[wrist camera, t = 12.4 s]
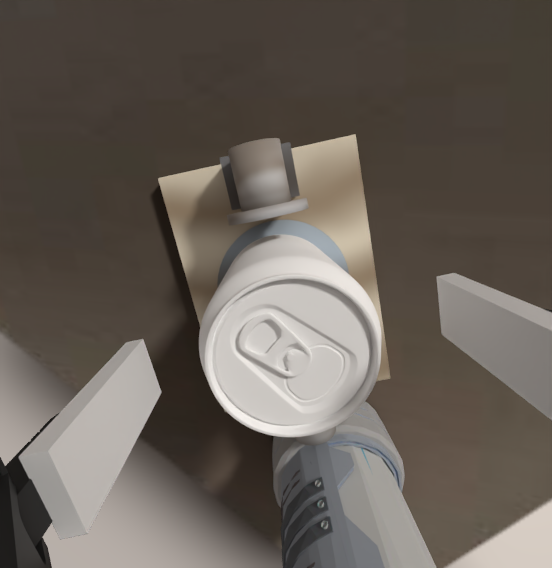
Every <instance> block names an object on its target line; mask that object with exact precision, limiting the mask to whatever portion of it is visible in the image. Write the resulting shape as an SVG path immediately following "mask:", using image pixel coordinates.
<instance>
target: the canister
mask: <svg viewBox="0 0 552 568" xmlns="http://www.w3.org/2000/svg"><path fill="white" fill-rule="evenodd" d="M272 460H273V473H274V474H273V489H274V492H275V496H276V500H277V504H278V505H279V506H280V507H281V515H282V519H281V520H282V526H281V539H282V561H283V568H436V566H435V564H434V561H433V559H432V557H431V555H430V553H429V551H428V549H427V547H426V544H425V542H424V540H423V538H422V536H421V534H420V532H419V529H418V527H417V525H416V523H415V521H414V519H413V517H412V515H411V512H410V510H409V508H408V506H407V504H406V502H405V500H404V497H403V495H402V489H403V483H404V477H405V475H404V468H403V461H402V459H401V457H400V455H399V453H398V451H397V449H396V447H395V445H394V444H393V442H392V440H391V438H390V436H389V434H388V432H387V430H386V428H385V426H384V425H383V423H382V421H381V419H380V418H379V416H378V414H377V413H376V411H375V410H374V409H373V408H372V407H371V406H370V405H369V404H368V403H367V402H364V403H363V404H362V405H361V406H360V408H359V409H358V410H357V411H356V412H355V413H353V414H352V415H351V416H350V417H349V418H347V419H346V420H345V421H343V422H342V423H340V424H338V425H337V426H336V432H335V434H334V436H333V437H332V438H331V439H330V440H329V441H327V442H325V443H323V444H320V445H315V446H308V445H304V444H301V443H299V442H298V441H297V440H296V439H295V437H277V436H274V438H273V451H272Z"/></svg>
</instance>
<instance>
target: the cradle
mask: <svg viewBox="0 0 552 568" xmlns="http://www.w3.org/2000/svg"><path fill="white" fill-rule="evenodd" d="M228 155H229V156H226V157H222V158H220V162H221V164H220V165H216V166H211V167H207V168H202V169H198V170H193V171H189V172H184V173H180V174H175V175H171V176H166V177H162V178H158V181H159V184H160V188H161V191H162V195H163V198H164V202H165V205H166V209H167V212H168V216H169V219H170V223H171V226H172V230H173V233H174V237H175V240H176V244H177V247H178V251H179V254H180V258H181V261H182V265H183V268H184V272H185V275H186V279H187V282H188V286H189V289H190V293H191V296H192V300H193V303H194V307H195V310H196V314H197V317H198V321H199V324H200V327H201V322H202V319H203V316H204V313H205V311H206V308H207V306H208V304H209V303H210V301H211V299H212V297H213V295H214V294H215V292H216V290H217V288H218V287H219V285H220V283H221V281H222V280H223V278H224V276H225V274H226V273H227V271H228V269H229V267H230V266H231V264H232V262H233V261H234V259H235V258H236V256H237V255H238V254H239V253H240V252H241V251H242V250H243V249H244V248H245V247H246V246H248V245H249V244H250V243H252V242H254V241H256V240H258V239H260V238H263V237H266V236H270V235H278V234H284V235H292V236H297V237H300V238H302V239H305V240H307V241H309V242H310V243H312V244H313V245H315V246H316V247H317V248H319V249H320V250H321V251H322V252H323V253H324V254H326V255H327V256H328V257H329V258H330V259H331V260H333V261H334V262H335V263H336V264H337V265H338V266H340V267H341V268H342V269H343V270H344V271H345V272H347V273H348V274H349V275H350V276H351V277H352V278H354V279H355V280H356V281H357V282H358V283H359V284H360V285H361V287H362V288H363V289H364V290H365V292H366V293H367V294H368V296H369V298H370V299H371V301H372V303H373V305H374V307H375V310H376V312H377V315H378V318H379V322H380V327H381V337H382V345H381V362H380V368H379V373H378V376H377V379H376V381H379V380H384V379H389V378H390V372H389V365H388V358H387V351H386V344H385V337H384V330H383V323H382V316H381V309H380V302H379V295H378V288H377V281H376V274H375V267H374V260H373V253H372V246H371V239H370V232H369V225H368V218H367V211H366V204H365V197H364V190H363V183H362V176H361V169H360V162H359V155H358V148H357V141H356V134H355V135H350V136H346V137H341V138H337V139H332V140H328V141H323V142H319V143H314V144H310V145H305V146H301V147H296V148H292V149H291V145H290V142H289V143H284V144H280V139H277V138H268V139H261V140H255V141H251V142H247V143H243V144H240V145H237V146H235V147H232V148H230V149H229V150H228ZM224 412H226V411H225V409H224ZM335 432H336V426H335V427H333V428H331V429H328V430H326V431H323V432H321V433H317V434H314V435H309V436H303V437H295V439H296V440H297V441H298V442H299V443H301V444H304V445H308V446H315V445H320V444H323V443H325V442H327V441H329V440H330V439H331V438H332V437H333V436H334V434H335Z"/></svg>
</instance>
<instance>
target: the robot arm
mask: <svg viewBox="0 0 552 568" xmlns="http://www.w3.org/2000/svg"><path fill="white" fill-rule="evenodd" d="M437 286H438V298H439V310H440V321H441V333H442V335H443V336H445V337H446V338H447V339H448V340H450V341H451V342H452V343H454V344H455V345H456V346H457V347H459V348H460V349H461V350H462V351H464V352H465V353H466V354H468V355H469V356H470V357H471V358H473V359H474V360H475V361H477V362H478V363H479V364H480V365H482V366H483V367H484V368H485V369H487V370H488V371H489V372H491V373H492V374H493V375H494V376H496V377H497V378H498V379H500V380H501V381H502V382H503V383H505V384H506V385H507V386H508V387H510V388H511V389H512V390H514V391H515V392H516V393H517V394H519V395H520V396H521V397H523V398H524V399H525V400H526V401H528V402H529V403H530V404H532V405H533V406H534V407H535V408H537V409H538V410H539V411H540V412H542V413H543V414H544V415H546V416H547V417H548V418H549V419H551V420H552V310H548V309H543V308H539V307H537V306H534V305H532V304H529V303H527V302H524V301H522V300H519V299H517V298H515V297H512V296H510V295H507V294H505V293H502V292H500V291H497V290H495V289H492V288H490V287H487V286H485V285H483V284H480V283H478V282H475V281H473V280H470V279H468V278H465V277H463V276H460V275H458V274H456V273H451V274H447V275H442V276H437ZM161 393H162V392H161V389H160V386H159V384H158V381H157V378H156V375H155V372H154V369H153V366H152V363H151V360H150V358H149V355H148V352H147V349H146V346H145V343H144V340H143V339H140V340H135V341H131V342H126V343H125V344H124V345H123V346H122V347H121V349H120V350H119V351H118V352H117V353H116V354H115V355H114V356H113V357H112V358H111V359H110V360H109V361H108V362H107V363H106V364H105V366H104V367H103V368H102V369H101V370H100V371H99V372H98V373H97V374H96V375H95V376H94V377H93V378H92V379H91V380H90V381H89V382H88V384H87V385H86V386H85V387H84V388H83V389H82V390H81V391H80V392H79V393H78V394H77V395H76V396H75V397H74V398H73V399H72V401H71V402H70V403H69V404H68V405H67V406H66V407H65V408H64V409H63V410H62V411H61V412H60V413H58V414H57V415H56V416H54V417H53V418H51V419H50V420H49V421H48V422H47V423H46V424H45V425H44V426H43V428H42V429H41V430H40V432H38V433H37V434H36V435H35V436H34V437H33V438H32V439H31V442H28V443H27V444H26V445H25V446H24V447H23V448H22V449H21V450H20V452H19V453H18V454H17V455H16V456H15V457H14V458H13V459H12V460H11V461H10V462H9V463H8V464H7V465H6V466H4V464H3V462H2V460H1V458H0V568H52V567H51V562H50V557H49V552H48V548H47V545H46V544H45V542H44V540H43V538H42V536H43V535H44V533H45V532H46V530H47V529H48V527H49V526H50V524H51V523H52V524H53V527H54V528H55V530H56V532H57V534H58V536H59V538H60V539H65V538H70V537H75V536H80V535H85V534H88V532H89V530H90V528H91V526H92V524H93V522H94V520H95V519H96V517H97V515H98V513H99V511H100V509H101V507H102V505H103V503H104V501H105V500H106V498H107V495H108V494H109V492H110V490H111V488H112V486H113V484H114V482H115V480H116V479H117V477H118V475H119V473H120V471H121V469H122V467H123V465H124V463H125V461H126V459H127V458H128V456H129V454H130V452H131V450H132V448H133V446H134V444H135V442H136V440H137V438H138V437H139V435H140V433H141V431H142V429H143V427H144V425H145V423H146V421H147V419H148V417H149V416H150V414H151V412H152V410H153V408H154V406H155V404H156V402H157V400H158V398H159V396H160V395H161Z"/></svg>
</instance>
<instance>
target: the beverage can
mask: <svg viewBox="0 0 552 568" xmlns="http://www.w3.org/2000/svg"><path fill="white" fill-rule="evenodd" d="M381 345H382V337H381V327H380V322H379V318H378V315H377V312H376V310H375V307H374V305H373V303H372V301H371V299H370V298H369V296H368V294H367V293H366V292H365V290H364V289H363V288H362V287H361V285H360V284H359V283H358V282H357V281H356V280H355V279H354V278H352V277H351V276H350V275H349V274H348V273H347V272H345V271H344V270H343V269H342V268H341V267H340V266H338V265H337V264H336V263H335V262H334V261H333V260H331V259H330V258H329V257H328V256H327V255H326V254H324V253H323V252H322V251H321V250H320V249H319V248H317V247H316V246H315V245H313V244H312V243H310V242H309V241H307V240H305V239H302V238H300V237H297V236H292V235H284V234H278V235H270V236H266V237H263V238H260V239H258V240H256V241H254V242H252V243H250V244H249V245H248V246H246V247H245V248H244V249H243V250H242V251H241V252H240V253H239V254H238V255H237V256H236V258H235V259H234V261H233V262H232V264H231V266H230V267H229V269H228V271H227V273H226V274H225V276H224V278H223V280H222V281H221V283H220V285H219V287H218V288H217V290H216V292H215V294H214V295H213V297H212V299H211V301H210V303H209V304H208V306H207V308H206V311H205V313H204V316H203V319H202V322H201V327H200V333H199V354H200V360H201V364H202V368H203V371H204V373H205V376H206V378H207V380H208V383H209V386H210V388H211V390H212V392H213V394H214V396H215V398H216V399H217V401H218V402H219V403H220V405H221V406H222V407H223V408H224V409H225V411H226V412H227V413H228V414H230V415H231V416H232V417H233V418H234V419H236V420H237V421H238V422H240V423H241V424H243V425H245V426H246V427H248V428H250V429H253V430H255V431H257V432H260V433H263V434H267V435H271V436H277V437H303V436H309V435H314V434H317V433H321V432H323V431H326V430H328V429H331V428H333V427H335V426H337V425H338V424H340V423H342V422H343V421H345V420H346V419H347V418H349V417H350V416H351V415H352V414H353V413H355V412H356V411H357V410H358V409H359V408H360V406H361V405H362V404H363V403H364V402H365V400H366V399H367V397H368V396H369V394H370V392H371V391H372V389H373V387H374V384H375V382H376V379H377V376H378V373H379V368H380V362H381Z"/></svg>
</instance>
